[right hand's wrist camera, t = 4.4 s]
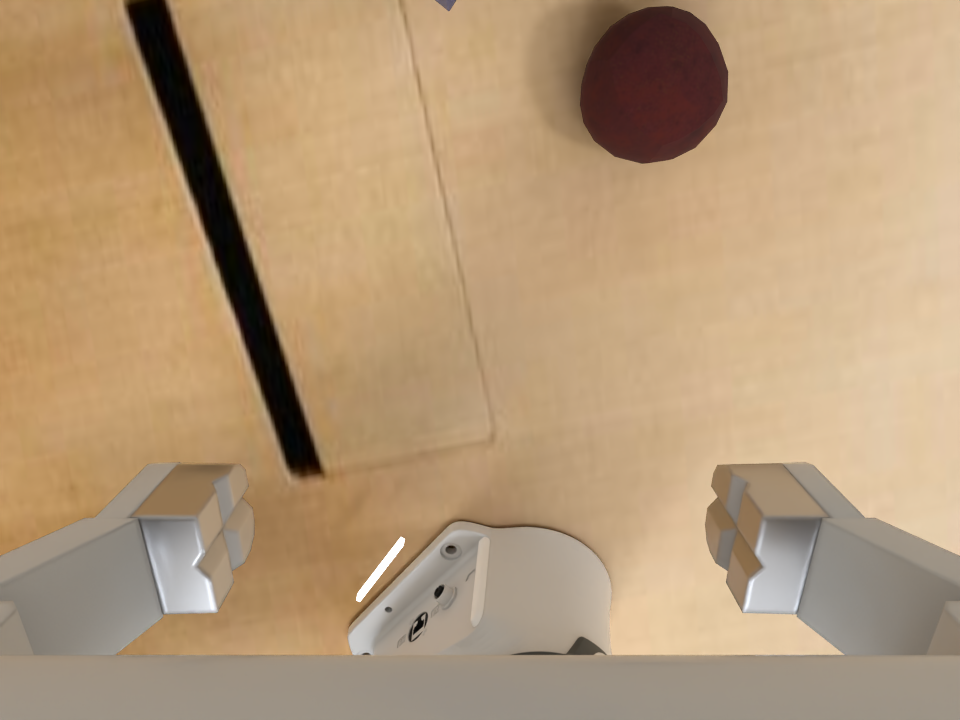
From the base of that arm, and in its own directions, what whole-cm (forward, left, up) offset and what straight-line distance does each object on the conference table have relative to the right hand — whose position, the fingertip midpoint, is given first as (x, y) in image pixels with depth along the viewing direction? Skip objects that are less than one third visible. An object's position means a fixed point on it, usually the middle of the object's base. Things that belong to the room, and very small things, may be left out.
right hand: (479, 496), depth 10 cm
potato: (+12, 0, -29) cm, 32 cm away
